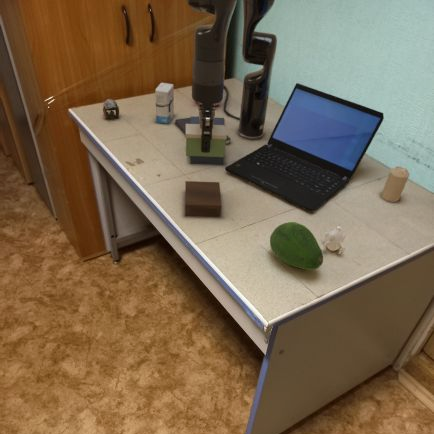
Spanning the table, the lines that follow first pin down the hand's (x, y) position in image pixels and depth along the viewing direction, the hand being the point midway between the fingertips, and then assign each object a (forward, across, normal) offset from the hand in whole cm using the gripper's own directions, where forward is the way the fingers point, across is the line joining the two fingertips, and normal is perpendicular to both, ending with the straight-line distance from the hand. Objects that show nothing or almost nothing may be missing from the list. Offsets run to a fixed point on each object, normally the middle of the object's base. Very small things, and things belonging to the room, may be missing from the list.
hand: (205, 145), depth 110 cm
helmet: (+19, +55, +33) cm, 67 cm away
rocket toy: (+18, -20, -34) cm, 43 cm away
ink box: (+19, +56, +13) cm, 61 cm away
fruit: (+18, -25, -22) cm, 38 cm away
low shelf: (+18, -1, 0) cm, 18 cm away
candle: (+18, +6, -59) cm, 62 cm away
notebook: (+19, +45, -1) cm, 49 cm away
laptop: (+18, +20, -32) cm, 42 cm away
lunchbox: (+2, 0, 0) cm, 2 cm away
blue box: (+18, +28, -2) cm, 34 cm away
